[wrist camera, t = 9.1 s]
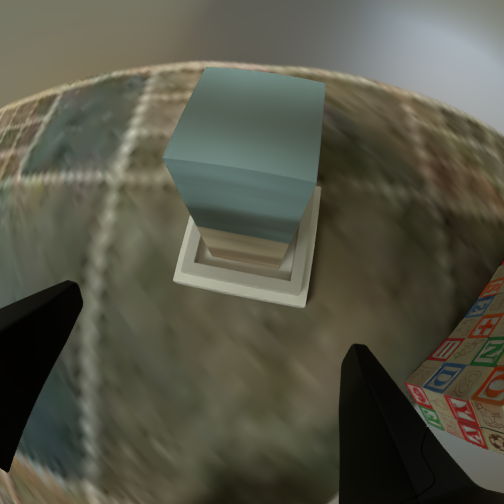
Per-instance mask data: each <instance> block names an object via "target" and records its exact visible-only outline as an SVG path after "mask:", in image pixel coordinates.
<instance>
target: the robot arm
mask: <svg viewBox="0 0 504 504" xmlns="http://www.w3.org/2000/svg"><path fill="white" fill-rule="evenodd" d="M82 307H83V299H82V295H81V292H80V288H79V285H78V284H77V283H76V282H73V281H70V280H67V281H64V282H62V283H59V284H57V285H54V286H52V287H49V288H47V289H45V290H42V291H40V292H38V293H35V294H33V295H31V296H28V297H26V298H24V299H21V300H19V301H17V302H14V303H12V304H10V305H8V306H5V307H3V308H1V309H0V468H1V469H2V470H4V471H5V472H7V473H8V472H9V470H10V467H11V464H12V461H13V458H14V455H15V452H16V449H17V447H18V444H19V441H20V439H21V436H22V433H23V430H24V428H25V426H26V423H27V421H28V418H29V416H30V414H31V411H32V409H33V407H34V405H35V403H36V400H37V398H38V396H39V394H40V392H41V390H42V388H43V386H44V384H45V382H46V380H47V378H48V376H49V374H50V372H51V370H52V368H53V366H54V364H55V362H56V360H57V358H58V356H59V355H60V353H61V351H62V349H63V347H64V346H65V344H66V342H67V340H68V337H69V335H70V333H71V331H72V329H73V326H74V324H75V322H76V320H77V318H78V316H79V314H80V312H81V310H82ZM426 426H427V425H426V424H425V422H424V421H423V420H422V418H421V417H420V415H419V414H418V413H417V411H416V410H415V409H414V407H413V406H412V405H411V403H410V402H409V401H408V399H407V398H406V397H405V395H404V394H403V393H402V391H401V390H400V389H399V387H398V386H397V385H396V383H395V382H394V381H393V379H392V378H391V377H390V376H389V374H388V373H387V372H386V370H385V369H384V368H383V366H382V365H381V364H380V363H379V361H378V360H377V359H376V357H375V356H374V355H373V354H372V352H371V351H370V350H369V348H368V347H367V346H366V345H364V344H352V345H351V347H350V349H349V350H348V352H347V354H346V356H345V358H344V359H343V362H342V366H341V382H340V398H339V440H340V479H339V504H504V493H500V492H496V491H491V490H487V489H484V488H482V487H480V486H478V485H477V484H476V483H474V482H473V481H472V480H471V479H470V478H469V476H468V475H467V474H466V473H465V472H464V471H463V470H462V469H461V467H460V466H459V465H458V464H457V463H456V462H455V460H454V459H453V458H452V457H451V456H450V455H449V453H448V452H447V451H446V450H445V449H444V448H443V446H442V445H441V444H440V442H439V441H438V440H437V438H436V437H435V436H434V434H433V433H432V432H431V430H430V429H429V427H426Z"/></svg>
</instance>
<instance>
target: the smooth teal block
mask: <svg viewBox="0 0 504 504" xmlns="http://www.w3.org/2000/svg"><path fill="white" fill-rule="evenodd" d="M324 97H325V83H321V82H317V81H312V80H307V79H302V78H297V77H292V76H286V75H280V74H274V73H267V72H259V71H251V70H241V69H230V68H216V67H206V69H205V70H204V72H203V74H202V76H201V78H200V80H199V82H198V83H197V85H196V87H195V89H194V91H193V93H192V95H191V97H190V99H189V101H188V103H187V105H186V107H185V109H184V111H183V113H182V115H181V117H180V120H179V122H178V124H177V126H176V128H175V130H174V133H173V135H172V137H171V139H170V142H169V144H168V146H167V149H166V151H165V153H164V156H163V160H164V162H165V164H166V166H167V168H168V170H169V172H170V174H171V176H172V178H173V180H174V182H175V185H176V187H177V189H178V191H179V193H180V195H181V197H182V199H183V201H184V203H185V205H186V207H187V209H188V211H189V213H190V215H191V217H192V219H193V221H194V223H195V225H196V226H197V228H198V230H199V232H200V234H201V236H202V238H203V240H204V242H205V244H206V246H207V248H208V250H209V252H210V253H211V255H212V256H213V257H217V258H222V259H227V260H232V261H237V262H242V263H247V264H252V265H257V266H262V267H267V268H272V269H277V270H278V268H279V266H280V264H281V261H282V259H283V257H284V255H285V253H286V251H287V248H288V246H289V244H290V242H291V240H292V237H293V235H294V233H295V231H296V228H297V226H298V224H299V222H300V219H301V217H302V215H303V213H304V210H305V208H306V206H307V204H308V201H309V199H310V197H311V195H312V192H313V190H314V188H315V185H316V183H317V174H318V165H319V156H320V146H321V135H322V123H323V111H324Z"/></svg>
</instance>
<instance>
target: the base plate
mask: <svg viewBox="0 0 504 504" xmlns="http://www.w3.org/2000/svg"><path fill="white" fill-rule="evenodd" d="M320 195H321V187H319V186H315V188H314V190H313V192H312V195H311V197H310V199H309V201H308V204H307V206H306V208H305V210H304V213H303V215H302V217H301V219H300V222H299V224H298V226H297V228H296V231H295V233H294V235H293V237H292V240H291V242H290V244H289V246H288V248H287V251H286V253H285V255H284V257H283V259H282V261H281V264H280V266H279V268H278V270H277V269H272V268H267V267H262V266H257V265H252V264H247V263H242V262H237V261H232V260H227V259H222V258H217V257H213V256H212V255H211V253H210V252H209V250H208V248H207V246H206V244H205V242H204V240H203V238H202V236H201V234H200V232H199V230H198V228H197V226H196V225H195V223H194V221H193V219H192V217H191V215H190V218H189V222H188V225H187V229H186V232H185V236H184V240H183V243H182V247H181V251H180V255H179V259H178V263H177V266H176V270H175V275H174V279H173V281H174V282H176V283H179V284H183V285H188V286H192V287H197V288H201V289H206V290H210V291H215V292H220V293H225V294H229V295H234V296H239V297H244V298H249V299H254V300H260V301H265V302H270V303H276V304H281V305H287V306H292V307H298V308H304V307H305V305H306V299H307V292H308V286H309V280H310V273H311V267H312V260H313V253H314V245H315V238H316V230H317V222H318V213H319V205H320Z"/></svg>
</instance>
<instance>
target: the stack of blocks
mask: <svg viewBox="0 0 504 504" xmlns="http://www.w3.org/2000/svg"><path fill="white" fill-rule="evenodd" d="M405 384H406V386H407V387H408V389H409V391H410V393H411V394H412V396H413V398H414V399H415V401H416V403H417V404H418V406H419V408H420V410H421V411H422V413H423V415H424V417H425V419H426V421H427V422H428V423H429V424H430V425H432V426H434V427H437V428H439V429H441V430H443V431H447V432H449V433H451V434H453V435H455V436H457V437H459V438H462V439H464V440H466V441H468V442H470V443H472V444H475V445H477V446H479V447H482V448H484V449H487V450H488V449H489V450H492V451H494V452H497V453H500V454H502V455H504V260H503V262H502V264H501V265H500V266H499V267H498V269H497V271H496V272H495V274H494V275H493V277H492V278H491V280H490V282H489V283H488V284H487V286H486V287H485V289H484V290H483V292H482V293H481V294H480V296H479V297H478V300H477V301H476V302H475V304H474V305H473V306H472V308H471V309H470V310H469V312H468V313H467V314H466V316H465V317H464V319H463V320H462V321H461V322H460V323H459V325H458V326H457V327H456V328H455V330H454V331H453V332H452V333H451V334H450V336H449V337H448V338H447V339H445V341H444V342H443V343H442V344H441V345H440V346H439V347H438V348H437V349H436V351H435V352H434V353H433V354H432V355H431V356H430V357H429V358H428V359H427V360H426V361H425V362H424V363H423V364H422V365H421V366H420V367H419V368H418V369H417V370H416V371H415V372H414V373H413V374H412V375H411V376H410V377H409V378H408V379H406V380H405Z"/></svg>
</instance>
